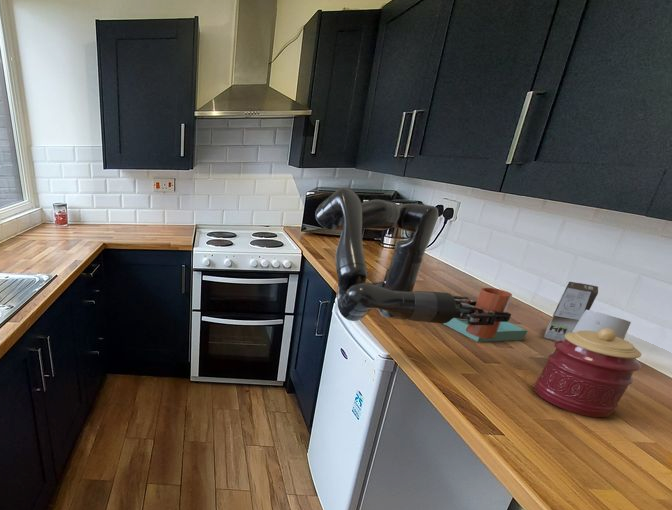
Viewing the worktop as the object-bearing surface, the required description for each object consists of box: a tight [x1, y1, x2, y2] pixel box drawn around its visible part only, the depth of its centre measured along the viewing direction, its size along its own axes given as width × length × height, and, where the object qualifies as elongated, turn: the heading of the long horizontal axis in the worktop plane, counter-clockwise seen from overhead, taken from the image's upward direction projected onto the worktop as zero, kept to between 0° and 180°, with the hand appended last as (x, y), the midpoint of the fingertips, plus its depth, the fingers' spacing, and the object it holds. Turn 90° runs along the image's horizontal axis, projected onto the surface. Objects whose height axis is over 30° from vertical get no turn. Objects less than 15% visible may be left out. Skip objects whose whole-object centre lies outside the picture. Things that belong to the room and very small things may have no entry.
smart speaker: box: [572, 309, 632, 340], centre depth 104 cm, size 10×9×14 cm
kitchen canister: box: [534, 328, 642, 418], centre depth 85 cm, size 13×13×18 cm
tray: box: [442, 318, 528, 343], centre depth 122 cm, size 14×16×3 cm
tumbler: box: [466, 287, 513, 339], centre depth 97 cm, size 6×6×11 cm
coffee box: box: [543, 281, 599, 342], centre depth 117 cm, size 9×6×16 cm
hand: (499, 311), depth 97 cm, fingers closed on tumbler, 6 cm apart
